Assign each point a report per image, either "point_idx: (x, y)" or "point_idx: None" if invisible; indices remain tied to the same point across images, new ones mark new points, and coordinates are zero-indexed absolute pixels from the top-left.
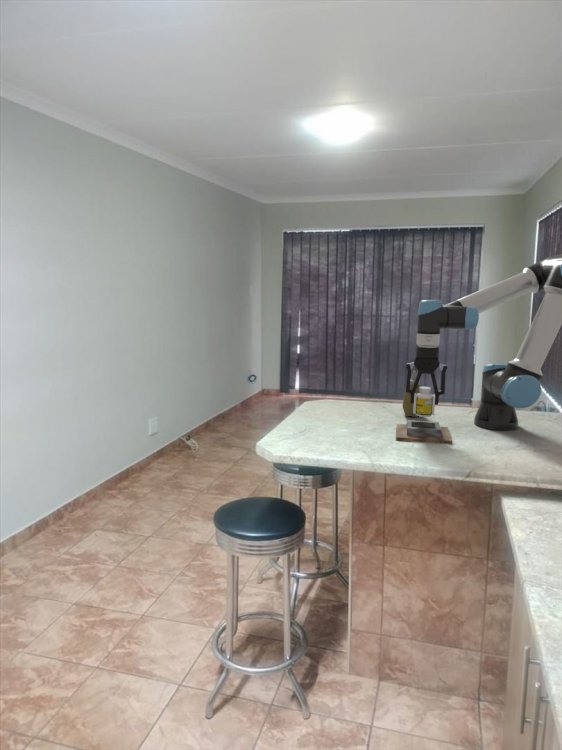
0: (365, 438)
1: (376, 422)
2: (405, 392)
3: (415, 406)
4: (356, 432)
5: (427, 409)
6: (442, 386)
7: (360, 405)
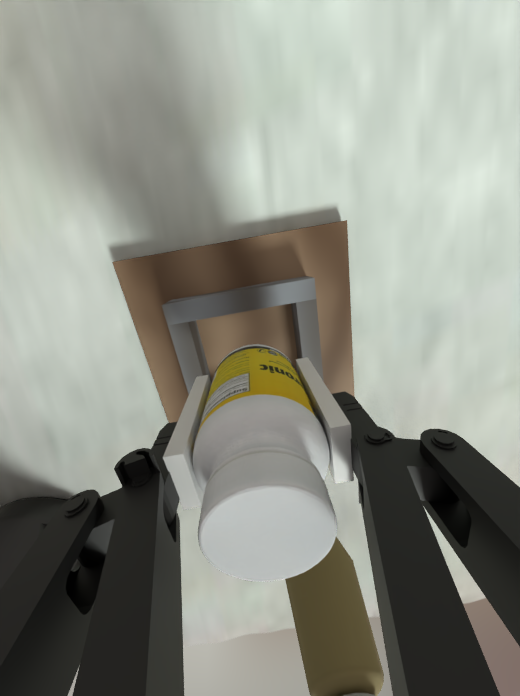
0: (466, 194)
1: (418, 430)
2: (370, 632)
3: (308, 376)
4: (496, 273)
5: (228, 366)
6: (28, 591)
7: (462, 571)
